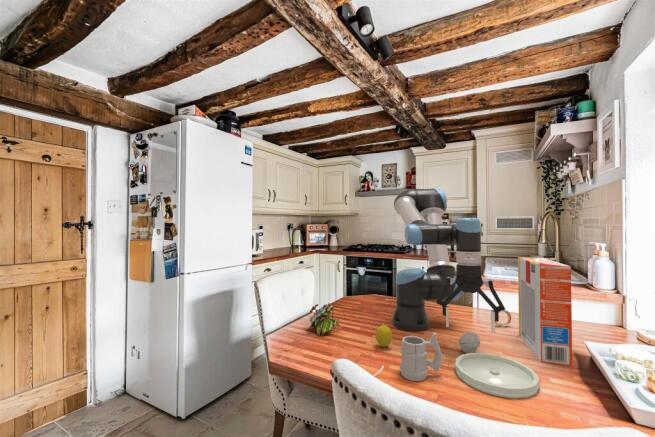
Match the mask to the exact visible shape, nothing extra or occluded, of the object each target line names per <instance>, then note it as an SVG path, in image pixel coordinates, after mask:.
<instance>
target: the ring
mask: <svg viewBox="0 0 655 437" xmlns="http://www.w3.org/2000/svg"><path fill="white" fill-rule="evenodd" d="M501 312H502V311H499V313H501ZM503 312H504V313H506V315H507V317H508V320H507V322H505V323H499V322H495V325H496V326H499V327H501V328H504V327H506V326H508V325H509V324H510V323H511V322H512V315H511V313H510V312H509V311H508V310H507V308H505V310H504V311H503Z"/></svg>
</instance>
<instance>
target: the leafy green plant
mask: <svg viewBox="0 0 655 437" xmlns="http://www.w3.org/2000/svg"><path fill="white" fill-rule="evenodd" d="M318 306H319V303H317V304H315V305H314V306H312V307H311V308H310V310H309V313H312V312H313V311H315V312H314V314H313V315H312V316H311V317H310V318H309V322H310V323H311V324H310V325H309V329H310V328H313V329H316V334H317V335H318V336H319V337H320V335H321V334H322V335H325V334H326V333H329V332H331V330H332V329H334V332H335V331H336V329H335V326H337V327H340V326H341V325H340V324H339V322H338V320H339V319H338V318H334V311H335V310H334V309H335V308H334V307H333V305H331V303H330V302H328V303H325V304H324V305H323V306H321V307H320V308H319V309H317V307H318ZM331 311H332V315H331ZM330 315H331V318H330ZM323 318H324V319H323Z"/></svg>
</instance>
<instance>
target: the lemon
mask: <svg viewBox="0 0 655 437" xmlns="http://www.w3.org/2000/svg"><path fill="white" fill-rule="evenodd" d="M375 340H376V342H377V344H378V345H379V346H380V347H382V348H383V349H385V348H386V347H388V346H389V345H390V344H391V343H392V340H393V334H392V330H391V328H390V327H389V326H388V325H386V324H384V323H383V324H381V325H378V327H377V328H376V332H375Z"/></svg>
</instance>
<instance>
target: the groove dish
mask: <svg viewBox="0 0 655 437" xmlns="http://www.w3.org/2000/svg"><path fill="white" fill-rule="evenodd" d="M455 373H456V376H457V377H458V378H459V379H460V380H461V381H462V382H464V383H465V384H466V385H468V386H469V387H471V388H474V389H476V390H478V391H479V392H483V393H485V394H488V395H491V396H495V397H496V396H497V397H500V398H505V399H515V400H516V399H518V400H519V399H527V398H531V397H533V396H535V395H537V394H538V392H539V385H540V379H539V377H538V374H537V372H535V371H534V370H533V369H531V368H530V367H529V366H528V365H526V364H524V363H521V362H520V361H517V360H515V359H513V358H509V357H506V356H502V355H499V354H493V353H487V352H475V353H468V354H467V353H464V354H460V355H459V356H458V357H457V358H455Z"/></svg>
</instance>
